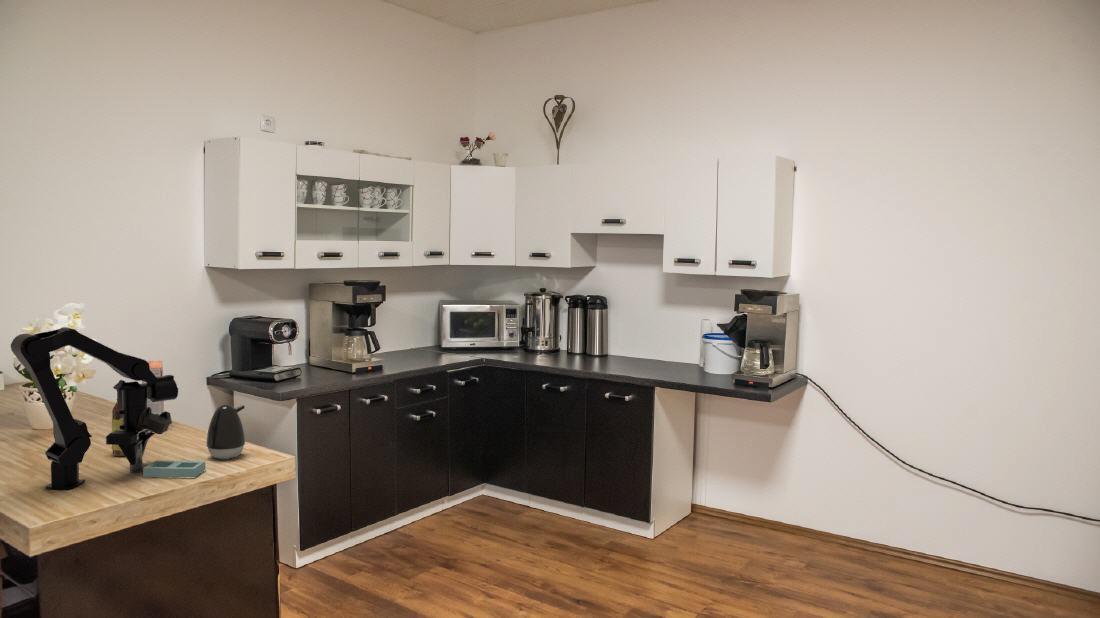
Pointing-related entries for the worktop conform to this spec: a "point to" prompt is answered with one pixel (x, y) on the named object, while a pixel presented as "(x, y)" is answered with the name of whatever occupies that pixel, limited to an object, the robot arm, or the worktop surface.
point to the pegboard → (174, 469)
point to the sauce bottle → (117, 422)
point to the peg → (137, 461)
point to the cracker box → (157, 371)
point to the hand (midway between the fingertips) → (136, 462)
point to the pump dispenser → (226, 432)
